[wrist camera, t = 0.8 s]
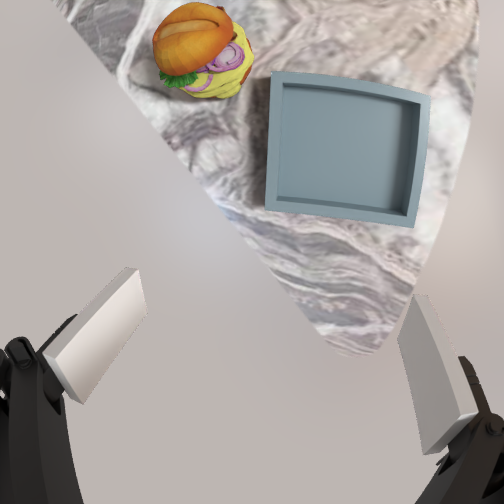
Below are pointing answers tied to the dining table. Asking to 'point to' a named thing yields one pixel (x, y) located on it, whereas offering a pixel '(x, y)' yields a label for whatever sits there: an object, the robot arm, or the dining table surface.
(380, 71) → the dining table surface
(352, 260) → the dining table surface
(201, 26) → the cheeseburger
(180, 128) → the dining table surface
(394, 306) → the dining table surface
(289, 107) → the bin
